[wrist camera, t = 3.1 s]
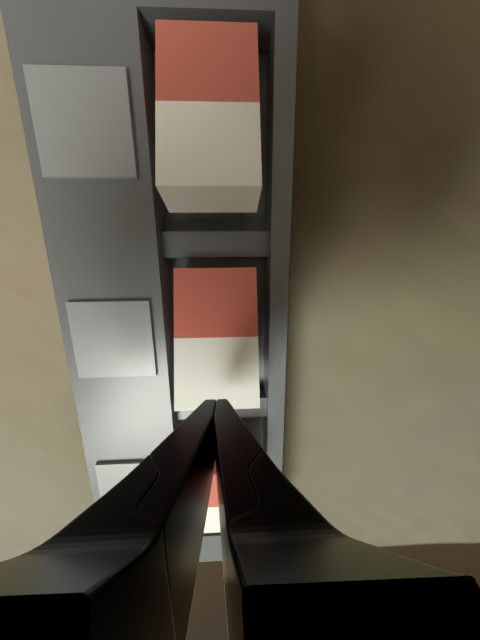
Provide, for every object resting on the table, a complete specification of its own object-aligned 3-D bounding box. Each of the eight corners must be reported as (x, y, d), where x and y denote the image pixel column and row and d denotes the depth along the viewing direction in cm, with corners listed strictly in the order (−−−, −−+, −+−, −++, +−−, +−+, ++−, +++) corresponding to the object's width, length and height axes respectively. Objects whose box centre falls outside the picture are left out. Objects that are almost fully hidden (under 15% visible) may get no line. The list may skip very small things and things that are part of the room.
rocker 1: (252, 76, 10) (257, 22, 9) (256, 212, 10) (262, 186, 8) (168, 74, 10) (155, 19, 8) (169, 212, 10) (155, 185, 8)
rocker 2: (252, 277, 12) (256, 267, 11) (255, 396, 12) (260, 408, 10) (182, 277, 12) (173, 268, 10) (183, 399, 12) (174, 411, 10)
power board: (279, 40, 12) (302, -70, 8) (269, 499, 18) (279, 560, 15) (63, 34, 12) (-22, -86, 8) (131, 506, 18) (104, 571, 14)
